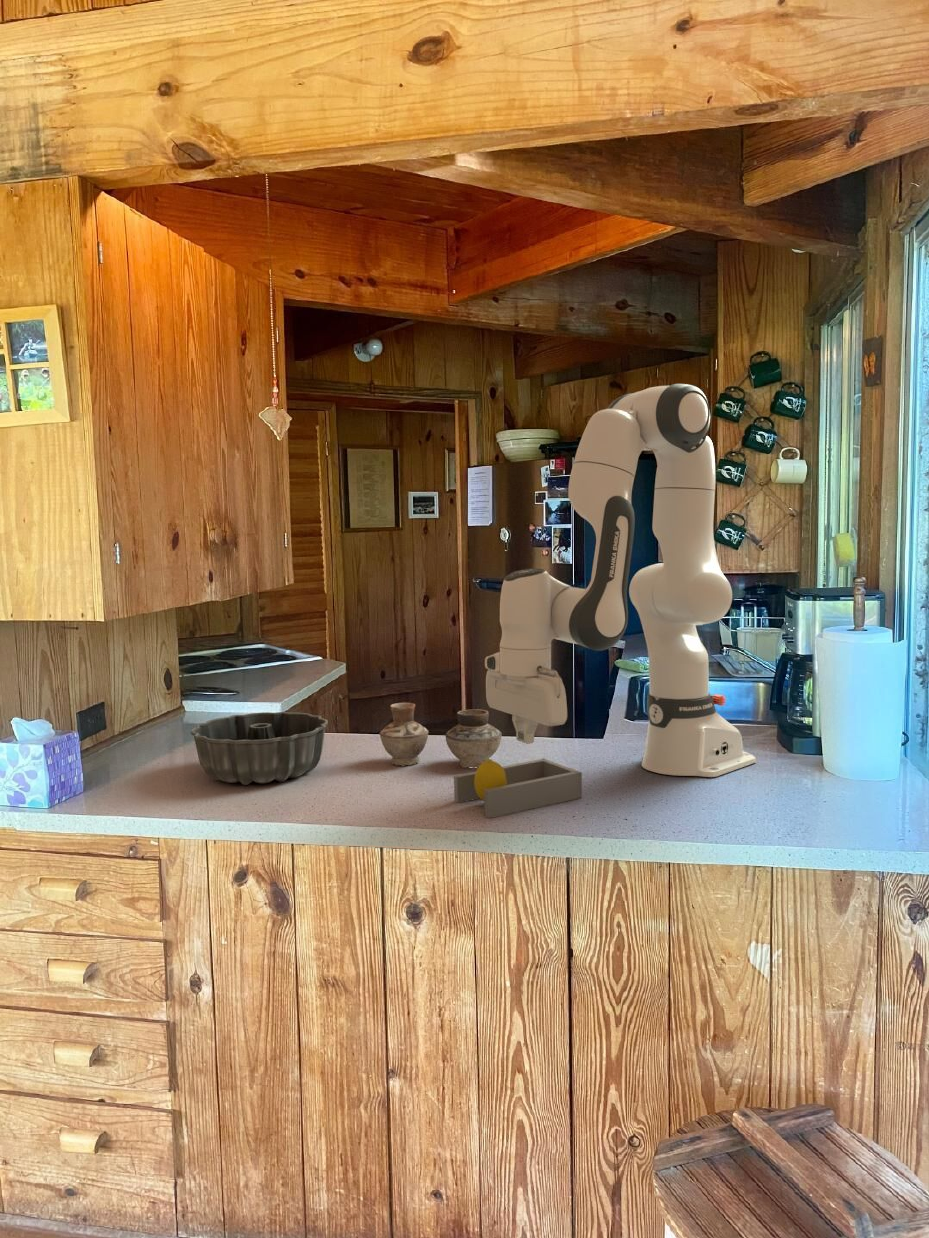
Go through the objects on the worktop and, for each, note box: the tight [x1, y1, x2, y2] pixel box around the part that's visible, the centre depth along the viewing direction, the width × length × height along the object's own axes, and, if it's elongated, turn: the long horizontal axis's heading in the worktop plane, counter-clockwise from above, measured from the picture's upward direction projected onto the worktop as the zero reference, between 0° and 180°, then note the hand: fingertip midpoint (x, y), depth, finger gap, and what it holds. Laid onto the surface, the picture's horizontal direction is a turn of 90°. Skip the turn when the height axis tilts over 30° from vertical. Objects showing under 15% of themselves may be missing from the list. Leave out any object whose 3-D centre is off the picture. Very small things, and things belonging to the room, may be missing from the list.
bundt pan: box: [190, 711, 329, 786], centre depth 182 cm, size 26×26×10 cm
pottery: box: [379, 702, 503, 768], centre depth 184 cm, size 11×25×12 cm, turn 77°
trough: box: [453, 758, 583, 819], centre depth 160 cm, size 19×11×4 cm, turn 120°
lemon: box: [474, 758, 507, 802], centre depth 157 cm, size 6×6×8 cm
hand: (525, 742), depth 160 cm, fingers closed
